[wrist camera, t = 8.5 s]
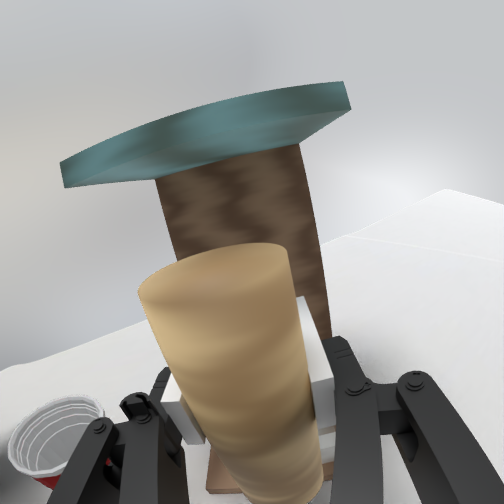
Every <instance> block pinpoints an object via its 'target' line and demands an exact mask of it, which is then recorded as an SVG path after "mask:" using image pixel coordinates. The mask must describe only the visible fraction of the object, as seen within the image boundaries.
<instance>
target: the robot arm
mask: <svg viewBox="0 0 504 504" xmlns="http://www.w3.org/2000/svg"><path fill="white" fill-rule="evenodd" d="M296 301H297V306H298V311H299V317H300V322H301V328H302V334H303V339H304V345H305V351H306V357H307V363H308V373H309V379H310V386H311V392H312V399H313V405H314V412H315V418H316V422H317V427H318V429H321V428H326V427H330V426H334V425H336V437H335V455H334V468H333V480H332V490H331V500H330V504H383V467H382V451H381V438H380V435H388V434H392V436H393V438H394V441H395V443H396V445H397V447H398V449H399V452H400V454H401V456H402V458H403V461H404V463H405V465H406V467H407V470H408V472H409V474H410V477H411V479H412V481H413V484H414V486H415V488H416V491H417V493H418V496H419V498H420V500H421V503H422V504H504V484H503V482H502V480H501V479H500V477H499V475H498V473H497V472H496V470H495V469H494V467H493V465H492V464H491V462H490V460H489V459H488V457H487V456H486V454H485V453H484V451H483V450H482V448H481V446H480V445H479V443H478V442H477V440H476V439H475V437H474V436H473V434H472V433H471V431H470V430H469V429H468V427H467V426H466V424H465V423H464V421H463V420H462V418H461V417H460V416H459V414H458V413H457V411H456V410H455V409H454V407H453V406H452V404H451V403H450V402H449V400H448V399H447V398H446V396H445V395H444V393H443V392H442V391H441V389H440V388H439V387H438V385H437V384H436V383H435V381H434V380H433V379H432V377H431V376H429V375H428V374H427V373H425V372H422V371H411V372H407V373H405V374H404V375H402V376H401V377H400V378H399V379H398V382H397V383H393V384H377V383H373V382H372V381H371V380H370V379H369V378H366V377H365V375H364V373H363V371H362V369H361V367H360V365H359V363H358V361H357V359H356V357H355V355H354V353H353V351H352V349H351V347H350V345H349V343H348V341H347V340H345V339H344V338H342V337H341V336H336V337H332V338H328V339H324V340H320V338H319V335H318V332H317V330H316V327H315V324H314V322H313V319H312V317H311V314H310V311H309V309H308V306H307V303H306V301H305V298H304V296H301V297H296ZM155 382H156V383H154V386H153V389H152V390H151V393H150V395H149V396H148V395H147V394H146V393H143V392H136V393H133V394H130V395H128V396H127V397H125V398H124V399H123V400H122V401H121V403H120V405H119V406H120V407H121V409H122V410H123V412H124V413H125V415H126V416H127V418H128V419H129V421H127V422H123V423H118V424H114V423H113V422H112V421H111V420H110V419H109V418H107V417H100V418H97V419H95V420H93V421H92V422H91V423H90V424H89V425H88V427H87V428H86V430H85V432H84V434H83V435H82V437H81V439H80V441H79V442H78V444H77V446H76V448H75V450H74V452H73V453H72V455H71V457H70V459H69V461H68V463H67V464H66V466H65V468H64V470H63V472H62V474H61V476H60V478H59V480H58V482H57V484H56V486H55V488H54V490H53V492H52V494H51V496H50V498H49V500H48V502H47V504H189V495H188V486H187V475H186V464H185V452H184V449H183V447H182V446H181V441H182V437H183V439H184V440H185V442H186V443H187V445H190V444H205V438H206V436H205V434H204V432H203V431H202V429H201V427H200V426H199V424H198V422H197V420H196V419H195V417H194V415H193V413H192V411H191V410H190V408H189V406H188V404H187V402H186V400H185V398H184V396H183V395H182V393H181V391H180V389H179V387H178V385H177V383H176V381H175V379H174V377H173V375H172V373H171V371H170V369H169V367H165V368H164V369H163V370H162V371H161V372H160V373H159V374H158V376H157V379H156V381H155ZM107 459H109V460H110V461H111V462H110V464H109V465H107V464H106V461H107Z"/></svg>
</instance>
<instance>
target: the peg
mask: <svg viewBox="0 0 504 504" xmlns="http://www.w3.org/2000/svg"><path fill="white" fill-rule="evenodd" d="M138 295H139V298H140V301H141V304H142V306H143V309H144V311H145V314H146V316H147V319H148V321H149V324H150V326H151V328H152V331H153V333H154V336H155V338H156V340H157V342H158V345H159V347H160V349H161V351H162V354H163V356H164V358H165V360H166V362H167V364H168V366H169V369H170V371H171V373H172V375H173V377H174V379H175V381H176V383H177V385H178V387H179V389H180V391H181V393H182V395H183V396H184V398H185V400H186V402H187V404H188V406H189V408H190V410H191V411H192V413H193V415H194V417H195V419H196V420H197V422H198V424H199V426H200V427H201V429H202V431H203V432H204V434H205V436H206V437H207V439H208V441H209V442H210V444H211V446H212V447H213V449H214V450H215V452H216V454H217V455H218V457H219V458H220V460H221V461H222V463H223V464H224V466H225V467H226V469H227V470H228V472H229V473H230V475H231V476H232V478H233V479H234V481H235V482H236V483H237V485H238V486H239V488H240V489H241V490H242V492H243V493H244V495H245V496H246V497H247V499H248V500H249V501H250V502H251V503H253V504H306V503H308V502H309V501H311V500H312V499H313V498H314V497H315V496H316V495H317V493H318V492H319V490H320V489H321V486H322V483H323V477H324V476H323V467H322V459H321V451H320V443H319V436H318V429H317V422H316V418H315V412H314V405H313V399H312V392H311V386H310V379H309V373H308V363H307V357H306V351H305V345H304V339H303V334H302V328H301V322H300V317H299V311H298V306H297V301H296V295H295V290H294V285H293V280H292V275H291V269H290V264H289V259H288V254H287V250H286V249H285V248H284V247H282V246H280V245H277V244H272V243H246V244H238V245H232V246H227V247H222V248H217V249H213V250H209V251H206V252H202V253H199V254H196V255H193V256H190V257H187V258H185V259H182V260H179V261H177V262H175V263H173V264H170V265H168V266H166V267H164V268H162V269H160V270H159V271H157V272H155V273H154V274H152V275H151V276H149V277H148V278H147V279H146V280H145V281H144V282H143V283H142V284H141V285H140V287H139V288H138Z"/></svg>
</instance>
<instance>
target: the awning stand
mask: <svg viewBox="0 0 504 504" xmlns="http://www.w3.org/2000/svg"><path fill="white" fill-rule="evenodd" d="M350 110H351V106H350V103H349V99H348V96H347V92H346V89H345V86H344V82H343V81H341V82H328V83H318V84H309V85H302V86H294V87H287V88H281V89H276V90H269V91H264V92H259V93H254V94H249V95H244V96H239V97H235V98H231V99H227V100H223V101H219V102H215V103H211V104H207V105H204V106H200V107H196V108H193V109H189V110H186V111H183V112H180V113H176V114H174V115H170V116H167V117H164V118H161V119H159V120H156V121H153V122H150V123H147V124H144V125H142V126H139V127H137V128H134V129H131V130H129V131H126V132H124V133H121V134H119V135H117V136H114V137H112V138H110V139H107V140H105V141H103V142H100V143H98V144H96V145H94V146H92V147H90V148H87V149H85V150H83V151H81V152H79V153H77V154H75V155H74V156H71V157H69V158H67V159H65V160H64V161H62V162H60V168H61V173H62V178H63V183H64V188H72V187H79V186H87V185H95V184H104V183H115V182H125V181H136V180H151V179H155V181H156V186H157V190H158V194H159V198H160V202H161V205H162V209H163V213H164V216H165V220H166V224H167V227H168V231H169V234H170V238H171V241H172V245H173V248H174V251H175V255H176V258H177V261H179V260H182V259H185V258H187V257H190V256H193V255H196V254H199V253H202V252H206V251H209V250H213V249H217V248H222V247H227V246H232V245H238V244H246V243H272V244H277V245H280V246H282V247H284V248H285V249H286V250H287V254H288V259H289V264H290V269H291V275H292V280H293V285H294V290H295V295H296V297H301V296H304V298H305V301H306V303H307V306H308V309H309V311H310V314H311V317H312V319H313V322H314V324H315V327H316V330H317V332H318V335H319V338H320V340H324V339H328V338H332V330H331V321H330V313H329V305H328V298H327V290H326V283H325V277H324V270H323V264H322V257H321V251H320V245H319V240H318V234H317V228H316V223H315V217H314V212H313V207H312V202H311V197H310V192H309V187H308V182H307V178H306V173H305V168H304V164H303V160H302V155H301V151H300V147H299V143H300V142H302V141H303V140H305V139H306V138H308V137H309V136H311V135H312V134H314V133H315V132H317V131H318V130H320V129H322V128H323V127H324V126H326V125H328V124H329V123H331V122H332V121H334V120H335V119H337V118H339V117H340V116H342V115H344V114H345V113H347V112H348V111H350ZM317 429H318V427H317ZM318 436H319V443H320V451H321V459H322V467H323V476H324V477H323V481H327V480H331V479H333V468H334V455H335V437H336V425H334V426H330V427H326V428H321V429H318ZM206 490H207V491H208V492H209V493H210V494H226V493H243V492H242V490H241V489H240V488H239V486H238V485H237V483H236V482H235V481H234V479H233V478H232V476H231V475H230V473H229V472H228V470H227V469H226V467H225V466H224V464H223V463H222V461H221V460H220V458H219V457H218V455H217V454H216V452H215V450H214V449H213V447H212V446H211V450H210V458H209V466H208V473H207V481H206Z"/></svg>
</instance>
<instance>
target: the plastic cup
mask: <svg viewBox="0 0 504 504" xmlns="http://www.w3.org/2000/svg"><path fill="white" fill-rule="evenodd" d="M100 417H105V412H104V409H103V408H102V406H101V405H100V403H99V402H98V400H97V399H95V398H92V397H89V396H87V395H68V396H65V397H62V398H58V399H55V400H52V401H50V402H48V403H46V404H44V405H42V406H40V407H38V408H37V409H35V410H34V411H33V412H31V413H30V414H29V415H28V416H26V417H25V418H24V419H23V420H22V421H21V422H20V424H19V425H18V426H17V427H16V428H15V430H14V431H13V433H12V435H11V438H10V440H9V443H8V459H9V460H10V462H11V463H12V464H13V466H14V467H15V468H16V470H18V471H19V472H21V473H23V474H26V475H29V476H31V477H33V478H34V479H35V480H37V481H39V482H41V483H42V484H43V485H45V486H46V487H48V488H51V489H52V490H54V488H55V486H56V484H57V482H58V480H59V478H60V476H61V474H62V472H63V470H64V468H65V466H66V464H67V463H68V461H69V459H70V457H71V455H72V453H73V452H74V450H75V448H76V446H77V444H78V442H79V441H80V439H81V437H82V435H83V434H84V432H85V430H86V428H87V427H88V425H89V424H90V423H91V422H92V421H93V420H95V419H97V418H100ZM110 462H111V461H110V460H109V459H107V461H106V464H107V465H109V464H110Z"/></svg>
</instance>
